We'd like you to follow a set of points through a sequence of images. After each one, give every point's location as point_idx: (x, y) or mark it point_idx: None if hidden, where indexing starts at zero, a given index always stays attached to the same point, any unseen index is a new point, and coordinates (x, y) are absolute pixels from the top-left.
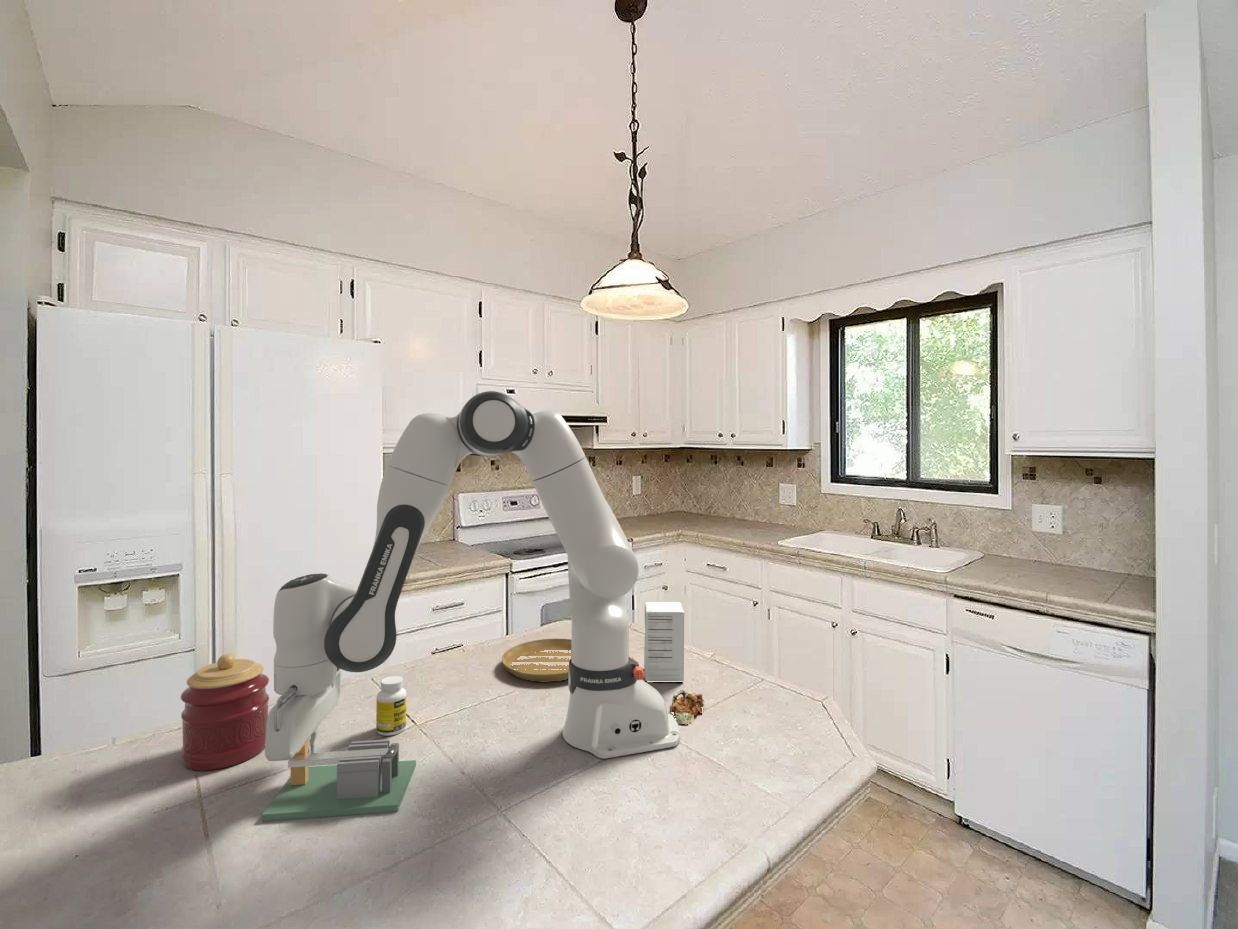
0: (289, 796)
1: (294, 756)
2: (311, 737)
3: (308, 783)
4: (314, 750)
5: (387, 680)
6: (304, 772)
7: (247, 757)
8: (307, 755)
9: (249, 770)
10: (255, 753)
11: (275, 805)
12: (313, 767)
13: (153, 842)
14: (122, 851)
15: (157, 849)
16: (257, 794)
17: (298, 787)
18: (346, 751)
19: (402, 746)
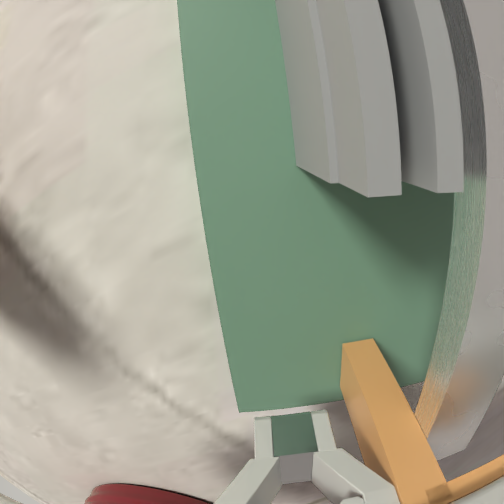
0: (432, 346)
1: (436, 456)
2: (262, 497)
3: (364, 331)
4: (259, 426)
5: None
6: (388, 373)
7: (187, 501)
8: (454, 418)
9: (227, 483)
10: (166, 495)
11: None
12: (237, 369)
13: (454, 461)
14: (456, 472)
15: (475, 444)
16: (349, 431)
17: (385, 350)
18: (493, 186)
19: (18, 74)
